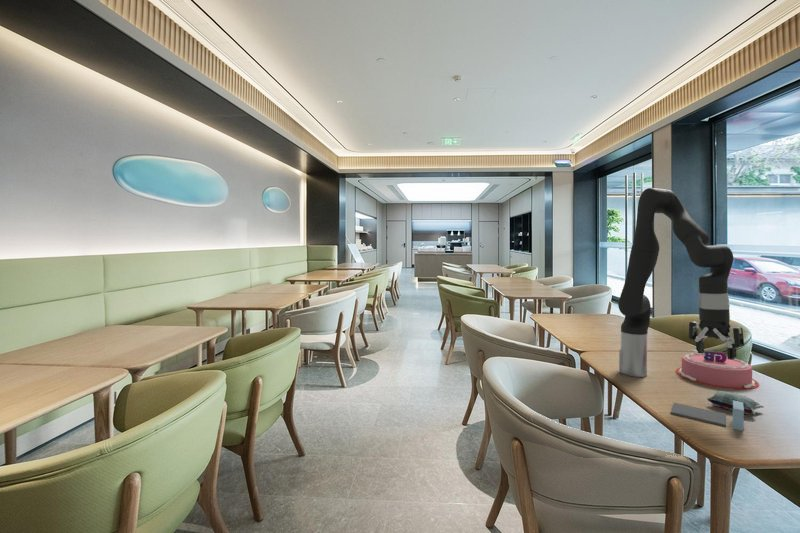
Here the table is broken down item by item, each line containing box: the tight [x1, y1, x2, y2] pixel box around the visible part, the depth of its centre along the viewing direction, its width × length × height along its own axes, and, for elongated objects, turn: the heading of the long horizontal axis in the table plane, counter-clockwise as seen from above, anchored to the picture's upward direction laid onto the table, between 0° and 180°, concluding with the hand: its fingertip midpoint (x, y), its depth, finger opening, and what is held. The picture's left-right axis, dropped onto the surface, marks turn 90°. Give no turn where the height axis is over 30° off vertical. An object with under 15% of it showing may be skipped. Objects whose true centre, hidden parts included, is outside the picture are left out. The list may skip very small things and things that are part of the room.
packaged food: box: [706, 390, 765, 415], centre depth 117 cm, size 9×12×5 cm
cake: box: [675, 350, 760, 391], centre depth 144 cm, size 25×25×11 cm
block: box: [731, 400, 745, 432], centre depth 106 cm, size 2×7×6 cm, turn 138°
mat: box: [670, 402, 727, 427], centre depth 113 cm, size 13×9×1 cm
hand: (715, 356), depth 118 cm, fingers open, 8 cm apart
